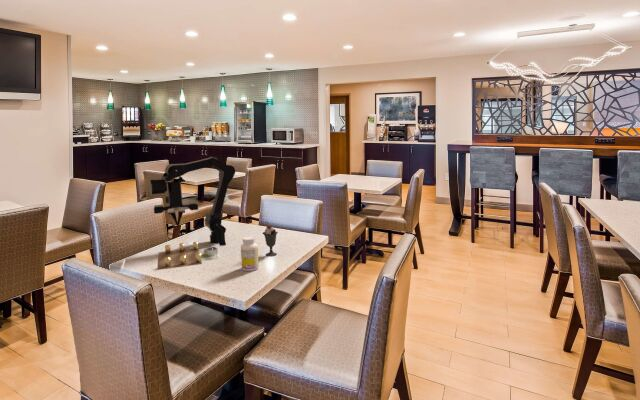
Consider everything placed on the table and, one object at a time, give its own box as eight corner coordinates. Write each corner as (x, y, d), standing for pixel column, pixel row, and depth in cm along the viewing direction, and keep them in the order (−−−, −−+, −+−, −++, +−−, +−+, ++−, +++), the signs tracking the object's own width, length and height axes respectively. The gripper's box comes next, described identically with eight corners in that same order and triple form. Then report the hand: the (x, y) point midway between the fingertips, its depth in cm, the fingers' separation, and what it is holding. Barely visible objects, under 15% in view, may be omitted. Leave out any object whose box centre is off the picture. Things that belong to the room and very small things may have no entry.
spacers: (198, 248, 185) (197, 241, 184) (201, 262, 166) (201, 254, 166) (165, 252, 180) (164, 245, 179) (165, 267, 161) (164, 258, 161)
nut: (217, 251, 180) (217, 246, 179) (218, 255, 175) (217, 249, 175) (204, 253, 178) (203, 247, 178) (204, 256, 173) (203, 250, 173)
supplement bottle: (250, 264, 166) (248, 234, 164) (262, 267, 162) (260, 237, 160) (238, 269, 161) (236, 238, 158) (250, 272, 157) (248, 241, 155)
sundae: (263, 252, 182) (262, 220, 179) (278, 251, 182) (277, 219, 179) (263, 257, 175) (261, 223, 172) (278, 256, 176) (277, 223, 173)
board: (213, 248, 189) (213, 245, 189) (219, 264, 167) (219, 261, 167) (158, 254, 181) (158, 252, 181) (157, 272, 159) (157, 269, 159)
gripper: (195, 188, 191) (197, 220, 194) (152, 191, 185) (156, 224, 188) (197, 191, 181) (199, 225, 184) (152, 195, 174) (155, 229, 177)
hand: (177, 226), depth 183 cm, fingers closed
